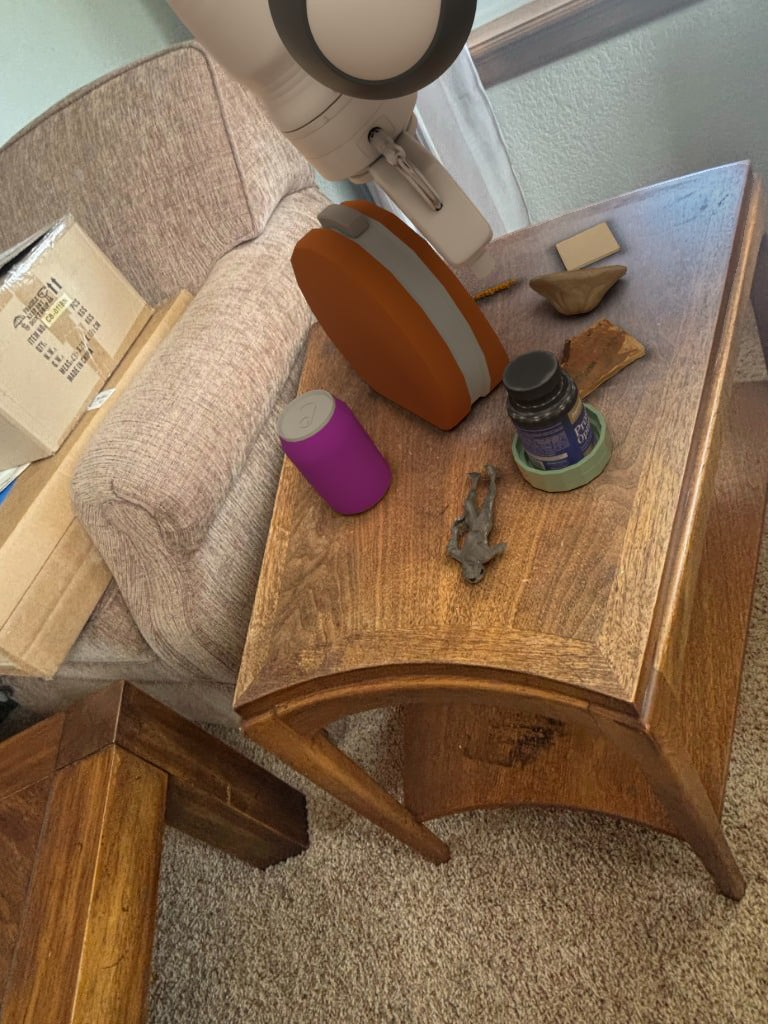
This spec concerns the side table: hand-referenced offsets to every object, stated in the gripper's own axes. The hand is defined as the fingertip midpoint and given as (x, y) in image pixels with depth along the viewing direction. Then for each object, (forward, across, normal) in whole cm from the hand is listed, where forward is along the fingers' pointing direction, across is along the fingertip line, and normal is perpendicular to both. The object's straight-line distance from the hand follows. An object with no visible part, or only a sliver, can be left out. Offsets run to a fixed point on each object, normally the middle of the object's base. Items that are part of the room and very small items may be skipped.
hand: (462, 245), depth 60 cm
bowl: (+19, -9, +5) cm, 21 cm away
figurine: (+17, -11, +15) cm, 25 cm away
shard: (+21, -1, -2) cm, 21 cm away
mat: (+23, +17, -11) cm, 31 cm away
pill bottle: (+18, -8, +5) cm, 21 cm away
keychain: (+20, +21, 0) cm, 28 cm away
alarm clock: (+18, +11, +11) cm, 24 cm away
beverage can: (+15, +2, +23) cm, 28 cm away
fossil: (+22, +9, -6) cm, 25 cm away
